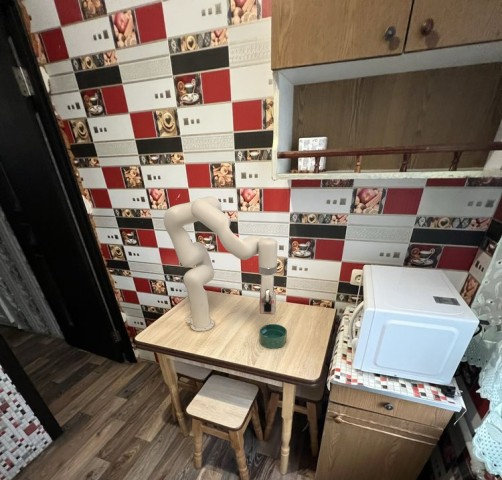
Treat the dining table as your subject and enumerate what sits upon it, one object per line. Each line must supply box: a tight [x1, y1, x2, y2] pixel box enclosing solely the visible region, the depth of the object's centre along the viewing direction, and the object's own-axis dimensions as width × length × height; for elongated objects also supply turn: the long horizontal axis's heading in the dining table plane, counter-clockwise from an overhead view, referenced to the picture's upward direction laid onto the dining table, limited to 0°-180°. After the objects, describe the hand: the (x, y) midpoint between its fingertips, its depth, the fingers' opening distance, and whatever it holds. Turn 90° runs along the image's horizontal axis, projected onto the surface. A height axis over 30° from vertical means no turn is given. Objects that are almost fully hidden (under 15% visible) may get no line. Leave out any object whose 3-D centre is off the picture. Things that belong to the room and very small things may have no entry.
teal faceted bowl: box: [258, 323, 288, 349], centre depth 133 cm, size 13×13×6 cm
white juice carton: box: [259, 290, 277, 316], centre depth 122 cm, size 4×7×10 cm, turn 77°
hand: (267, 308), depth 124 cm, fingers closed on white juice carton, 4 cm apart
